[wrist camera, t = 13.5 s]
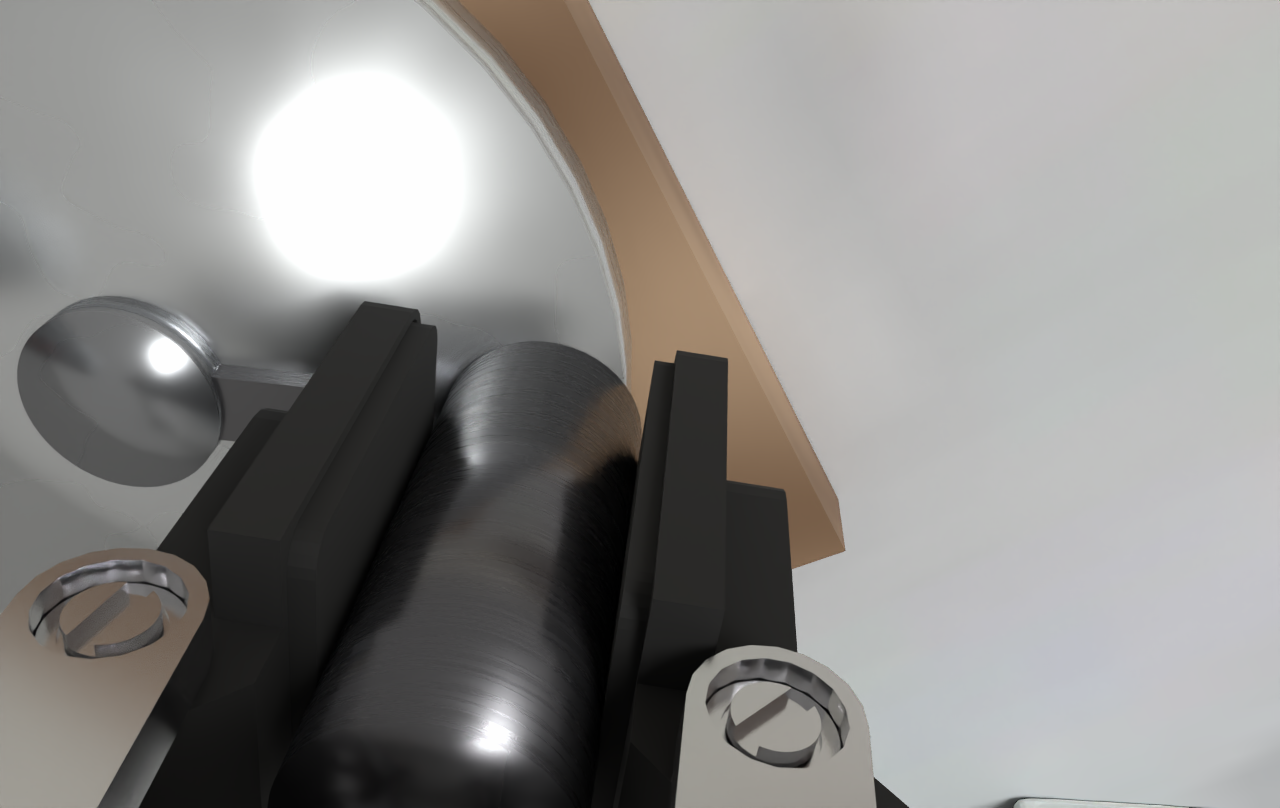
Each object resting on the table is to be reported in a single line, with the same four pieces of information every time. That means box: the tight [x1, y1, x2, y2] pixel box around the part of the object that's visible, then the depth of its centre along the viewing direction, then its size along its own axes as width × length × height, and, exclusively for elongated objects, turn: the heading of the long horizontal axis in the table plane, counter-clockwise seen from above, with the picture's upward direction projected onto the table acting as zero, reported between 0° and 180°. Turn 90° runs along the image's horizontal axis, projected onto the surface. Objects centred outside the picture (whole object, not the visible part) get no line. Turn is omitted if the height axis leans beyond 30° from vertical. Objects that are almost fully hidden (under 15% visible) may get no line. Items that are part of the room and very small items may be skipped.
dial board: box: [458, 0, 845, 569], centre depth 14 cm, size 16×16×2 cm
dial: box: [0, 0, 642, 808], centre depth 10 cm, size 11×11×6 cm
